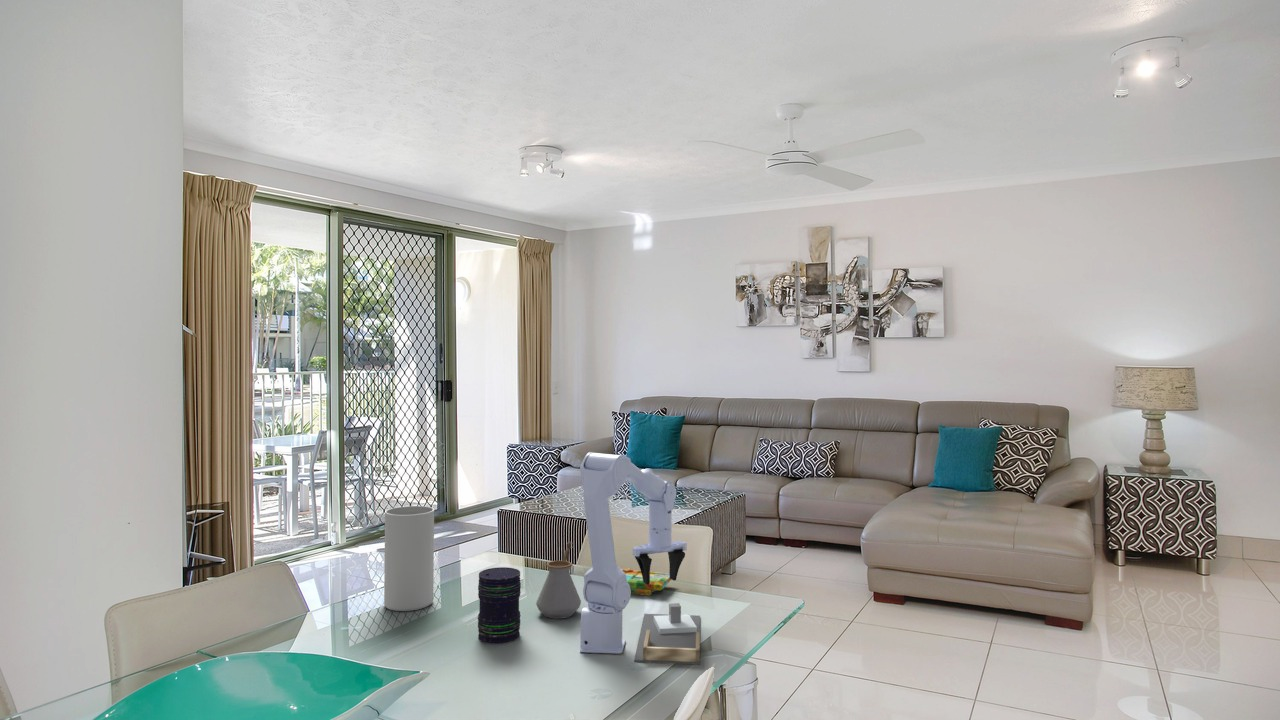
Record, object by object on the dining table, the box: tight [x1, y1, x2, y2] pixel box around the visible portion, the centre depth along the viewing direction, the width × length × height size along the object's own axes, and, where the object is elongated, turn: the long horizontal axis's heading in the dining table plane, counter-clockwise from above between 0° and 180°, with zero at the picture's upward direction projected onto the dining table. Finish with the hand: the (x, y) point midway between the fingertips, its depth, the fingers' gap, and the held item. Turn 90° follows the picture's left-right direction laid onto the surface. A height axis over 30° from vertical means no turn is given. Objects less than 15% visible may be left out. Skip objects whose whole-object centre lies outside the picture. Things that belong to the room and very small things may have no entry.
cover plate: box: [654, 602, 697, 634], centre depth 180 cm, size 9×9×5 cm
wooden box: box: [643, 630, 701, 662], centre depth 164 cm, size 12×11×3 cm
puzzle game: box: [620, 567, 672, 596], centre depth 211 cm, size 12×5×20 cm
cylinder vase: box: [383, 505, 435, 612], centre depth 196 cm, size 12×12×25 cm
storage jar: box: [477, 566, 522, 645], centre depth 173 cm, size 10×10×15 cm
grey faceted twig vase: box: [535, 541, 582, 620], centre depth 194 cm, size 21×12×15 cm, turn 174°
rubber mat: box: [633, 613, 701, 666], centre depth 173 cm, size 14×30×1 cm, turn 175°
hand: (659, 581), depth 186 cm, fingers open, 7 cm apart
